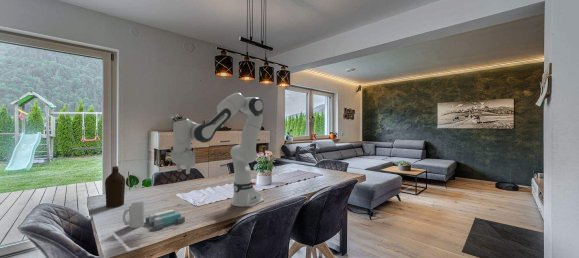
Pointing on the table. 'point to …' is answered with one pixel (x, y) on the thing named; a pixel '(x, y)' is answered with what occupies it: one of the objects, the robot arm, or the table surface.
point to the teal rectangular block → (167, 219)
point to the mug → (135, 215)
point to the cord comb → (161, 225)
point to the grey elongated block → (160, 214)
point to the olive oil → (115, 188)
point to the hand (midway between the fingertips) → (183, 172)
